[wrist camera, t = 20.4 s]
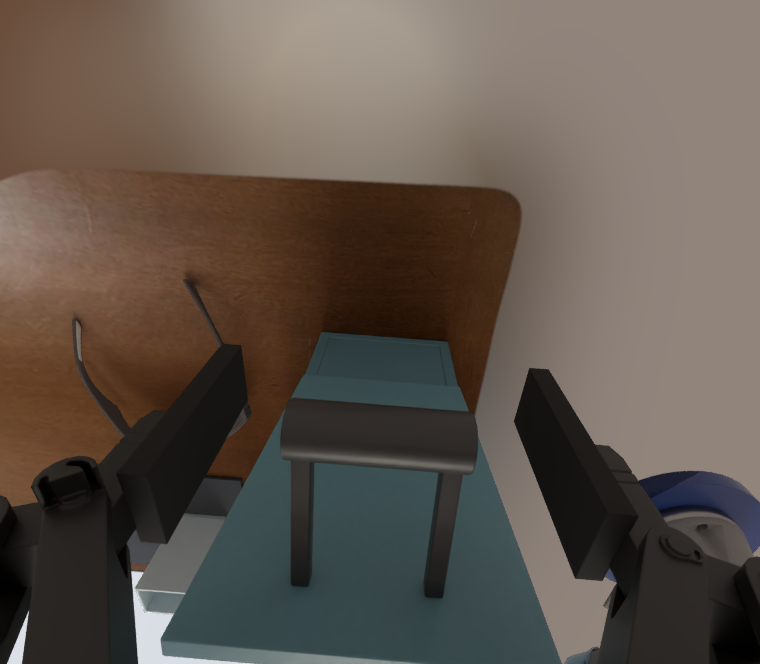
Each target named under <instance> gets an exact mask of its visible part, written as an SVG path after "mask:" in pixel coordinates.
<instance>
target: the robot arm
mask: <svg viewBox="0 0 760 664" xmlns="http://www.w3.org/2000/svg"><path fill="white" fill-rule="evenodd" d="M247 401H248V398H247V390H246V382H245V373H244V365H243V356H242V348H241V345H230V344H222V345H221V346H220V347H219V349H218V350H217V351H216V352H215V353H214V355H213V356H212V357H211V358H210V360H209V361H208V362H207V363H206V364H205V366H204V367H203V368H202V369H201V371H200V372H199V373H198V374H197V375H196V377H195V378H194V379H193V380H192V381H191V383H190V384H189V385H188V386H187V388H186V389H185V390H184V391H183V392H182V394H181V395H180V396H179V397H178V398H177V400H176V401H175V402H174V403H173V405H172V406H171V407H170V408H169V409H168V411H157V410H154V411H152V412H151V413H149V414H147V415H146V416H144V417H143V418H141V419H140V420H138V422H137V423H136V424H135V425H134V426H133V427H132V428H131V429H130V430H129V432H128V434H126V435H125V436H124V437H123V438H122V439H121V441H120V443H119V444H117V445H116V446H115V447H114V448H113V449H112V451H111V452H110V453H109V454H108V455H107V456H106V457H105V458H104V460H103V461H102V462H101V463H100V464H99V465H98V466H97V464H96V461H95V460H94V459H92V458H90V457H85V456H77V457H71V458H66V459H64V460H61V461H59V462H56V463H54V464H52V465H51V466H49V467H48V468H46V469H44V470H43V471H42V472H41V473H40V474H39V475H38V476H37V477H36V478H35V479H34V481H33V483H32V485H31V488H32V490H33V492H34V494H35V496H36V498H37V500H38V502H37V503H32V504H26V505H21V506H15V507H11V505H10V503H9V501H8V500H7V498H6V497H3V496H0V664H7V662H8V660H9V657H10V655H11V652H12V650H13V648H14V645H15V643H16V640H17V638H18V635H19V633H20V630H21V628H22V626H23V623H24V620H25V618H26V616H27V613H28V611H29V616H28V623H27V631H26V639H25V645H24V653H23V661H22V664H138V657H137V643H136V629H135V616H134V603H133V589H132V576H131V562H130V550H129V547H128V545H127V542H128V540H129V539H130V537H131V536H132V534H133V533H134V531H135V530H136V531H137V534H138V537H139V540H140V542H144V543H156V544H168V542H169V540H170V538H171V536H172V535H173V533H174V531H175V529H176V528H177V526H178V524H179V522H180V520H181V519H182V517H183V515H184V513H185V511H186V510H187V508H188V506H189V504H190V502H191V501H192V499H193V497H194V495H195V494H196V492H197V490H198V488H199V486H200V485H201V483H202V481H203V479H204V477H205V476H206V474H207V472H208V470H209V468H210V467H211V465H212V463H213V461H214V460H215V458H216V456H217V454H218V452H219V451H220V449H221V447H222V445H223V443H224V442H225V440H226V438H227V436H228V434H229V433H230V431H231V429H232V427H233V426H234V424H235V422H236V420H237V418H238V417H239V415H240V413H241V411H242V409H243V408H244V406H245V404H246V402H247ZM514 423H515V425H516V428H517V431H518V433H519V436H520V438H521V441H522V443H523V446H524V448H525V451H526V454H527V456H528V459H529V461H530V464H531V467H532V469H533V472H534V474H535V477H536V479H537V482H538V484H539V487H540V490H541V492H542V495H543V497H544V500H545V503H546V505H547V507H548V510H549V512H550V515H551V518H552V520H553V523H554V526H555V528H556V531H557V533H558V536H559V538H560V541H561V544H562V546H563V549H564V551H565V554H566V556H567V559H568V562H569V564H570V567H571V569H572V572H573V574H574V577H575V579H586V580H598V581H602V580H603V579H604V577H605V575H606V574H607V572H608V570H609V568H610V569H611V571H612V574H613V576H614V578H615V580H616V582H617V584H616V585H615V587H614V589H613V590H612V592H611V594H610V595H609V597H608V599H607V600H606V602H605V604H604V605H603V606H604V607H605V608H608V607H609V609H608V614H607V618H606V623H605V627H604V632H603V636H602V641H601V646H600V648H598V647H593V648H591V649H590V650H589V651H587V652H583V653H580V654H576V655H572V656H570V657H568V658H567V660H566V661H565V663H564V664H760V557H754V556H753V553H752V551H751V549H750V546H749V544H748V542H747V539H746V537H745V535H744V533H743V532H742V530H741V529H740V528H739V527H738V525H737V524H736V523H735V522H734V521H733V519H732V518H731V517H730V516H729V515H727V514H726V513H724V512H723V511H720V510H718V509H715V508H712V507H707V506H698V505H687V506H677V507H672V508H667V509H663V510H660V511H658V509H657V508H656V506H655V505H654V504H653V502H652V501H651V499H650V498H649V496H648V495H647V493H646V492H645V490H644V489H643V487H642V486H641V485H639V481H638V480H637V478H636V477H635V475H634V474H632V471H631V469H630V468H629V467H628V465H627V464H626V462H625V461H624V459H623V458H622V457H621V456H620V455H619V454H617V453H616V452H615V451H614V450H613V449H612V448H610V447H609V446H603V445H595V444H594V442H593V441H592V439H591V438H590V436H589V434H588V433H587V431H586V430H585V428H584V426H583V425H582V423H581V422H580V420H579V418H578V416H577V415H576V413H575V412H574V410H573V409H572V407H571V405H570V404H569V402H568V400H567V399H566V397H565V395H564V394H563V392H562V391H561V389H560V387H559V386H558V384H557V382H556V381H555V379H554V377H553V376H552V374H551V373H550V371H549V370H548V369H535V368H530V369H529V371H528V375H527V378H526V382H525V385H524V389H523V392H522V395H521V399H520V403H519V406H518V409H517V413H516V416H515V419H514Z"/></svg>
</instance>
